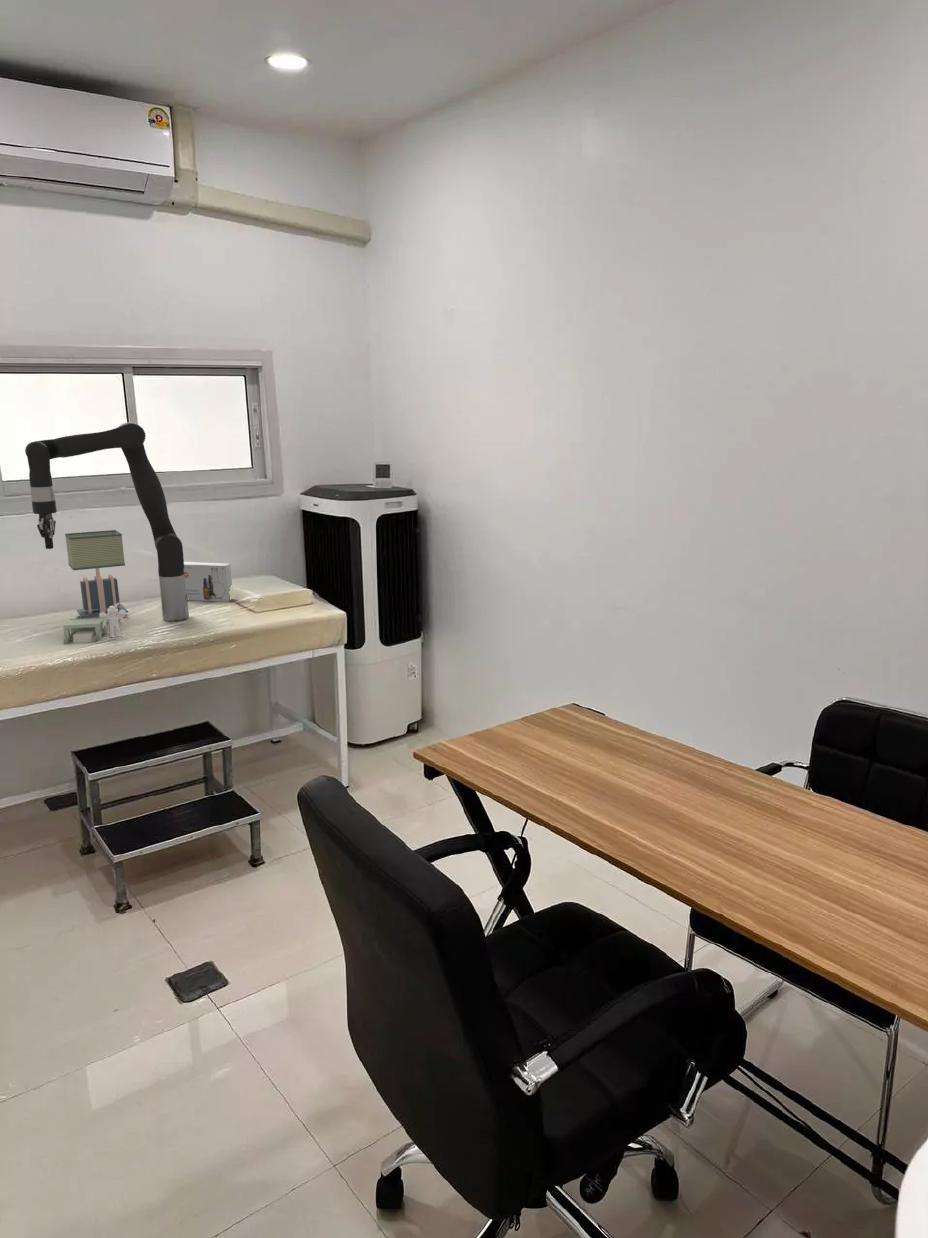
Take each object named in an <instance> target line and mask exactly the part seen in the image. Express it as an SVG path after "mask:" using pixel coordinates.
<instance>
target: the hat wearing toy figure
mask: <svg viewBox="0 0 928 1238" xmlns="http://www.w3.org/2000/svg"><path fill="white" fill-rule="evenodd" d="M120 602H121V601H120ZM120 602H118V603H117V604H115V606H109V609H107V611H108V613H107V615H106V613H104V612H102V613H101V612H100V614H99V616H100V618H102V619H104V621H103V624H102V628H103V629H104V626H105V625H107V624H108V625H109V626H108V628H109V638H110V637H113V638H115V636H116V637H118V636H119V637H122V632H121V628H120V624H119V620H120V621H122V622H121V625H124V627H126V626H127V621H126V620H125V617H126V616H127V613H126V612H125V610H124V611H123V610H120V611H119V613H118V609H117V608H115V607H117V606H116V605H119V603H120ZM120 604H121V603H120ZM122 615H124V616H125V617H124V616H122ZM104 617H105V618H104ZM105 623H106V624H105ZM114 629H115V631H114Z"/></svg>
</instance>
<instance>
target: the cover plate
mask: <svg viewBox="0 0 928 1238" xmlns="http://www.w3.org/2000/svg"><path fill="white" fill-rule="evenodd" d="M95 635H96V631H95V628H80V629H79V630H78V631H77V632H76V633H75V634H74V635H73V639H72V641H73V643H74V644H75V643H78V642H79V643H92V639H91V638H92V637H93V636H95Z"/></svg>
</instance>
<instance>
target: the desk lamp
mask: <svg viewBox="0 0 928 1238" xmlns="http://www.w3.org/2000/svg"><path fill="white" fill-rule="evenodd" d="M64 537H65V544H66V552H67V560H68V561H67V562H68V566H69V567H70V568H71V569H72V571H83V570H93V569H95V575H94V579H91V580H90V579H88V578H87V577H86V576H83V577H82V581H81V580H80V581H79V584H80V592H81V599H82V608H78V609H77V608H76V611H77V614H78V615H79V616H80V619H84V618H100V616H99V614H100V612H101V613H102V612H104V613H106V615H107V613H108V611H107V609H109V606H115V604H117V603H118V602H121V601H120V595H119V594H120V593H119V585H118V579H117V578H116V577H114V576H113V575H112V574H108V575H107V577H108V578H103V577H102V576H101V573H100V569H104V568H113V567H114V568H115V567H123V566H126V563H125V555H124V545H123V534H122V533H121V532H120V531H118V530H116V529H112V530H109V529H108V530H99V531H84V532H71V533H64ZM116 606H117V607H115V608H117V609H118V613H119V611H120V610H123V611H124V610H125V612H126V614H127V613H129V611H128V610H127V608H126V607H125V606H124V605H123V604H121V603H119V605H116ZM122 616H124V615H122ZM125 617H126V615H125V616H124V617H123V618H125ZM104 618H105V617H104Z"/></svg>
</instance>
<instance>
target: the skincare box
mask: <svg viewBox="0 0 928 1238" xmlns="http://www.w3.org/2000/svg"><path fill="white" fill-rule="evenodd" d="M231 569H232V568H231V563H228V562H225V563H223V562H202V561H201V562H197V561H184V579H185V590H186V592H187V599H190V600H189V601H200V600H201V601H203V602H205V601H206V602H222V603H223V602H225V603H228V602H230V601H229V600H230V594H229V591H230V587H231V585H232V586H233V580H232V571H231ZM201 601H200V602H201Z"/></svg>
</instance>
